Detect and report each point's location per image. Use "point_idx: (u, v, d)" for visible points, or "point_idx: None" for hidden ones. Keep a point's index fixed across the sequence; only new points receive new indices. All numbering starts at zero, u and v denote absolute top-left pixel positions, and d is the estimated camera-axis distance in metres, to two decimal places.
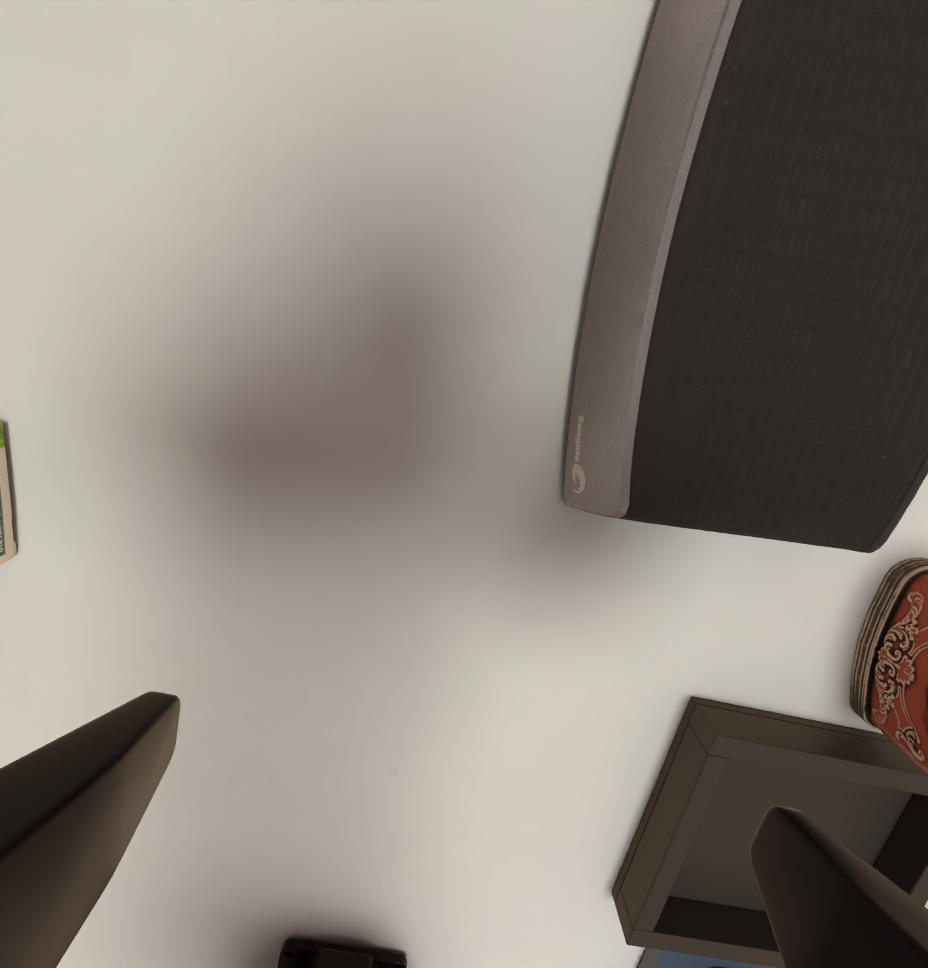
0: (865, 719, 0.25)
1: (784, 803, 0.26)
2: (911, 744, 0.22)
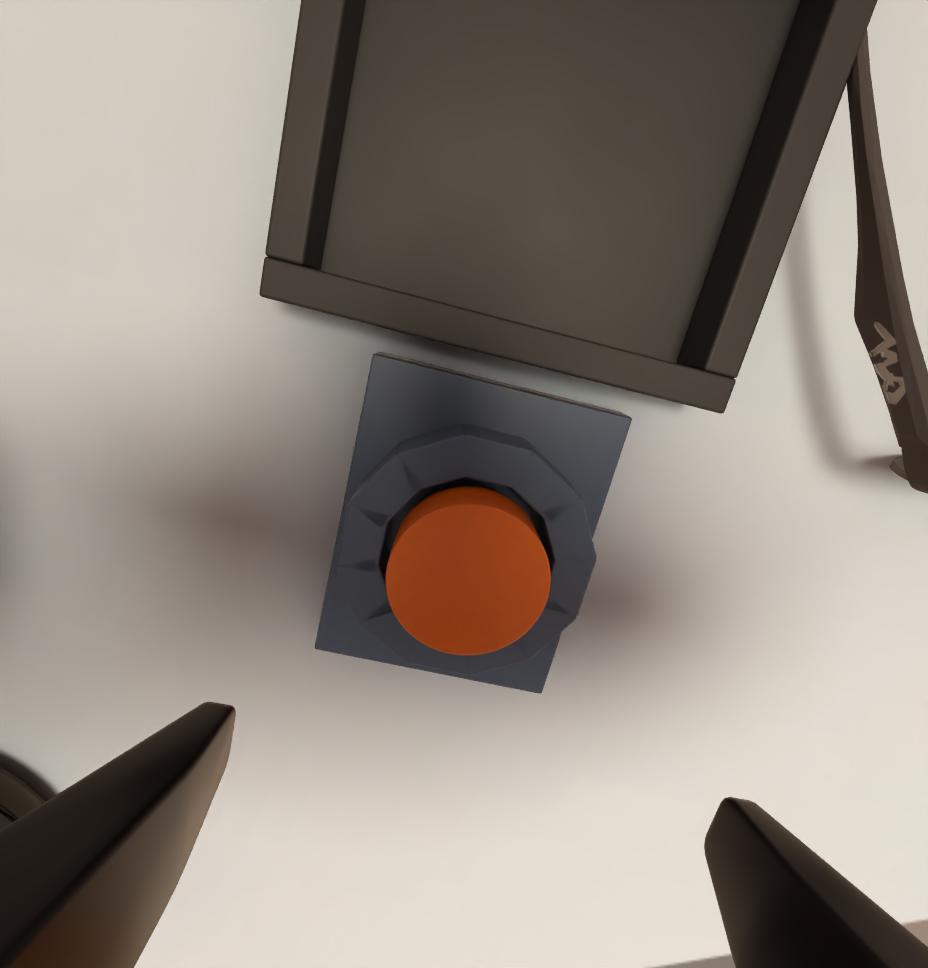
0: None
1: (553, 67, 0.15)
2: None
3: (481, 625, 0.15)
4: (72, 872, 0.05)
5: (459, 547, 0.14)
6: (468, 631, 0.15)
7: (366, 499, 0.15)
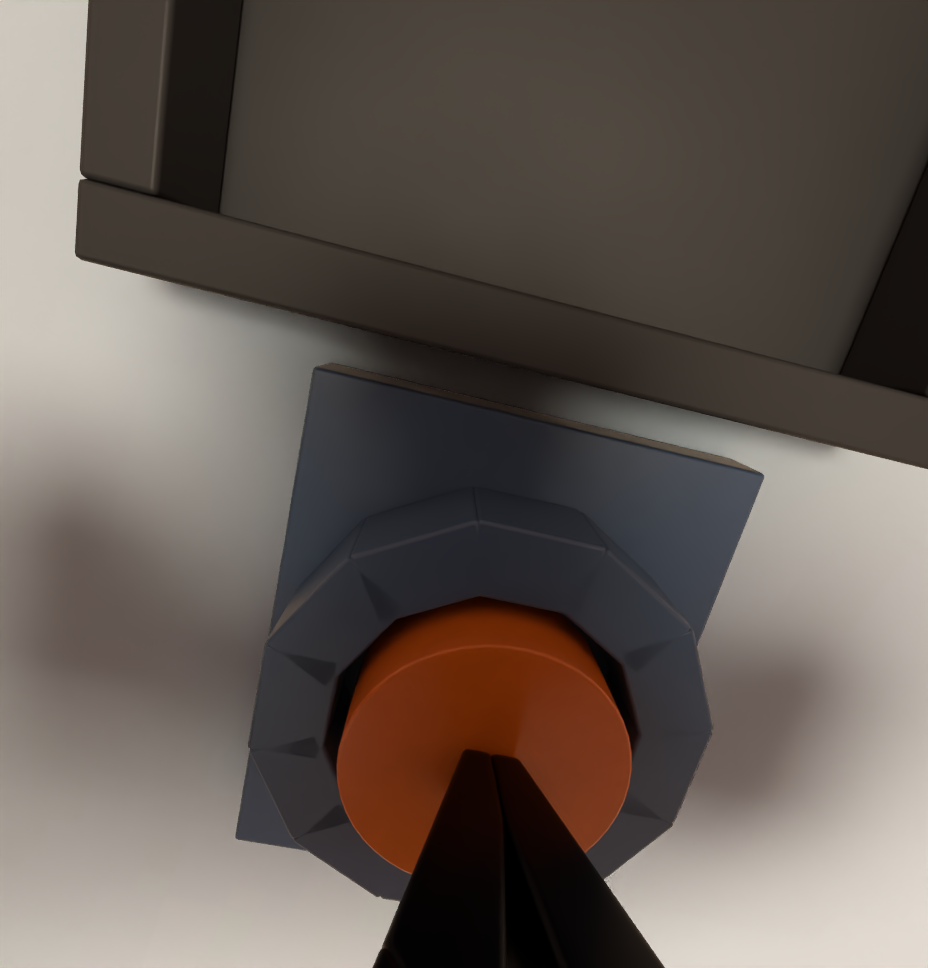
0: None
1: None
2: None
3: None
4: (491, 936, 0.05)
5: (468, 717, 0.08)
6: None
7: (297, 637, 0.08)
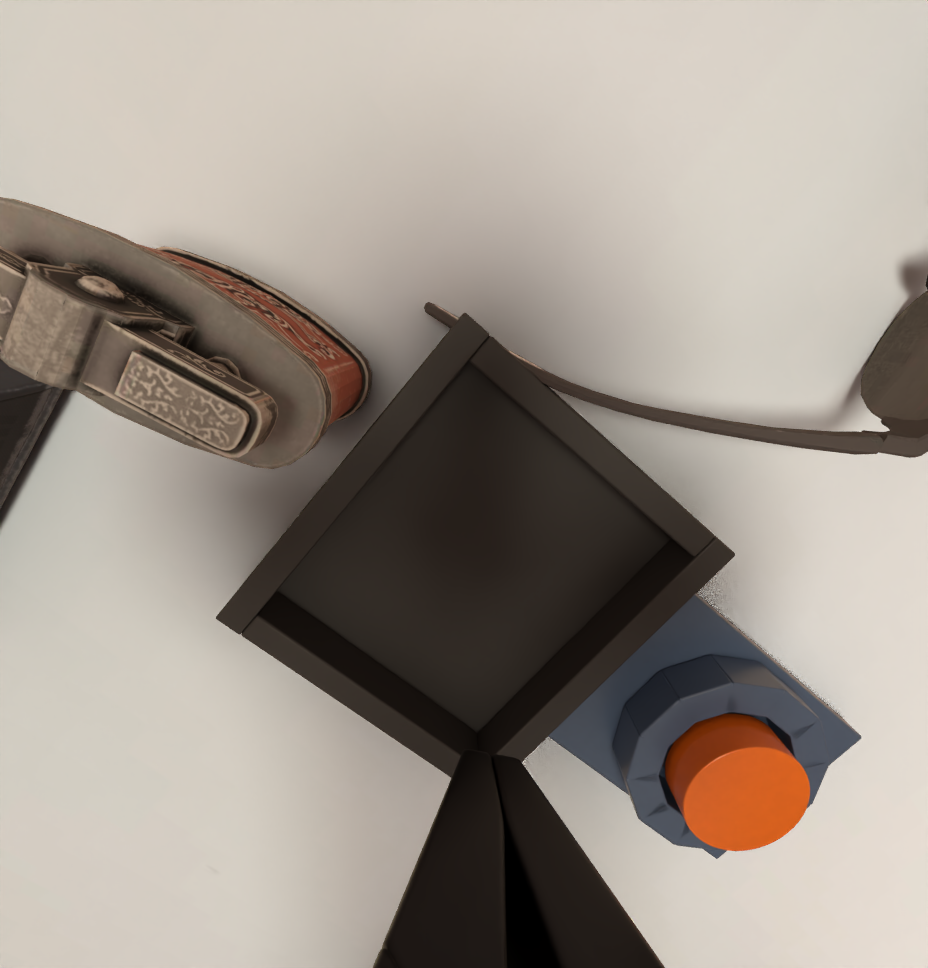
0: None
1: (432, 544, 0.20)
2: None
3: (782, 806, 0.19)
4: (491, 937, 0.05)
5: (718, 796, 0.19)
6: (781, 815, 0.19)
7: (643, 809, 0.21)
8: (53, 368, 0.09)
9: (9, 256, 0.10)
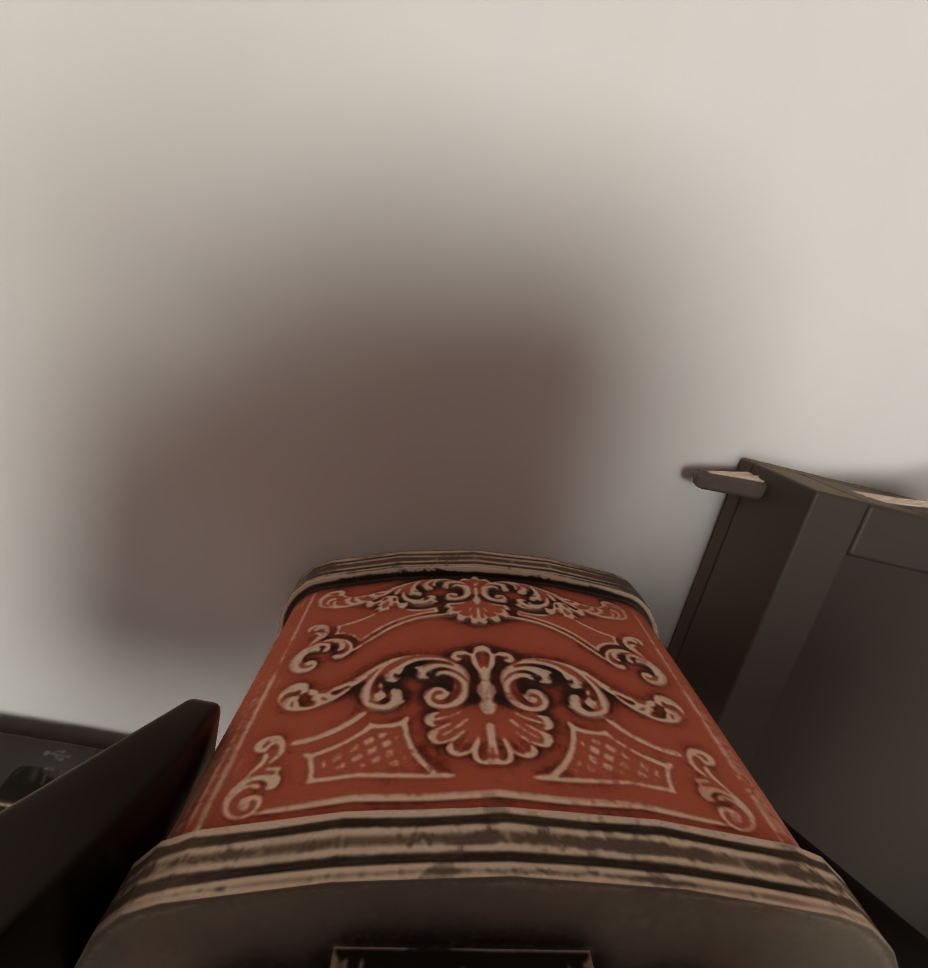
0: None
1: (815, 772, 0.13)
2: None
3: None
4: (46, 869, 0.05)
5: None
6: None
7: None
8: None
9: None
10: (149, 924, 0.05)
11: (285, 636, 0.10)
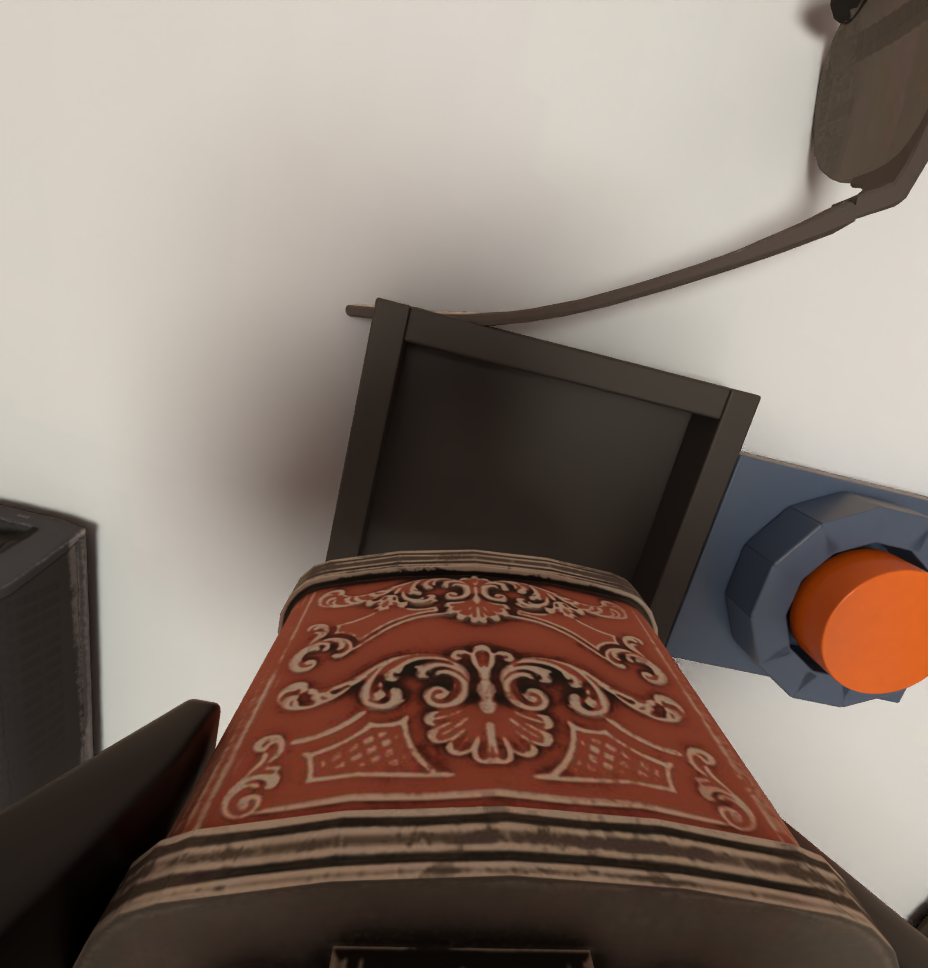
0: None
1: (464, 525, 0.20)
2: None
3: None
4: (45, 868, 0.05)
5: (858, 642, 0.17)
6: None
7: (791, 685, 0.19)
8: None
9: None
10: (148, 924, 0.05)
11: (284, 635, 0.10)
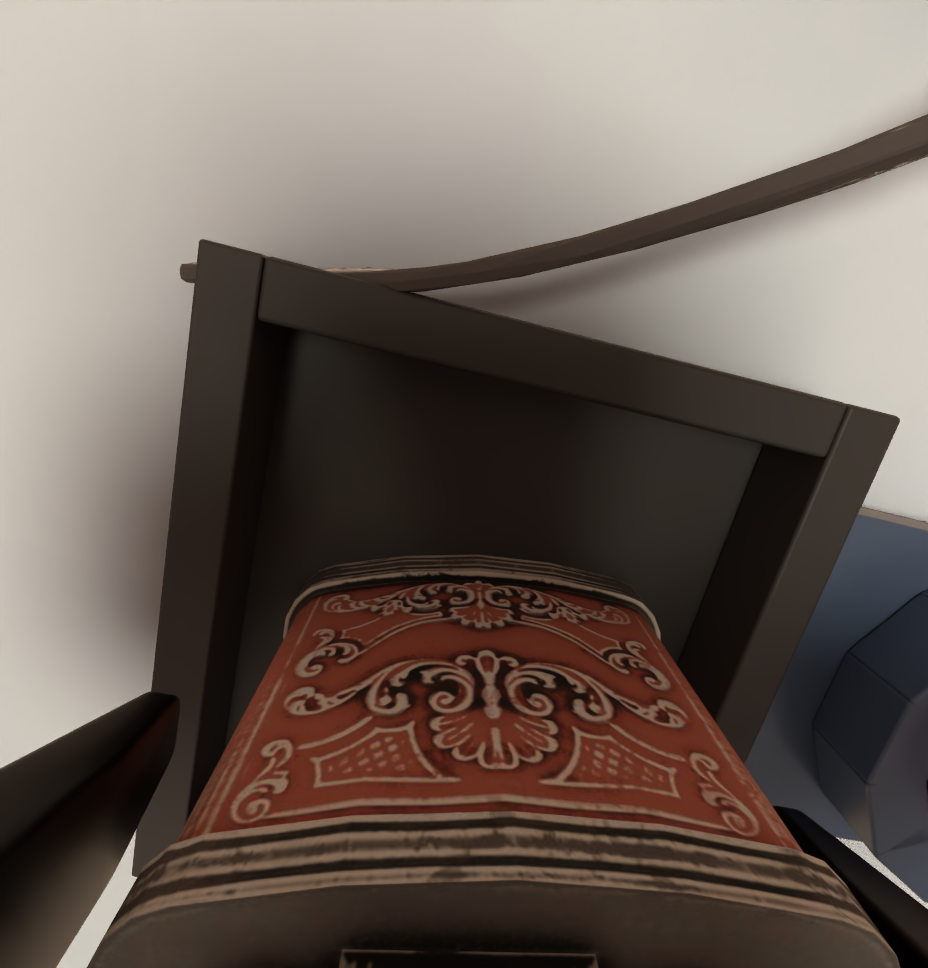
0: None
1: None
2: None
3: None
4: None
5: None
6: None
7: (927, 886, 0.12)
8: None
9: None
10: (160, 927, 0.05)
11: (290, 640, 0.10)
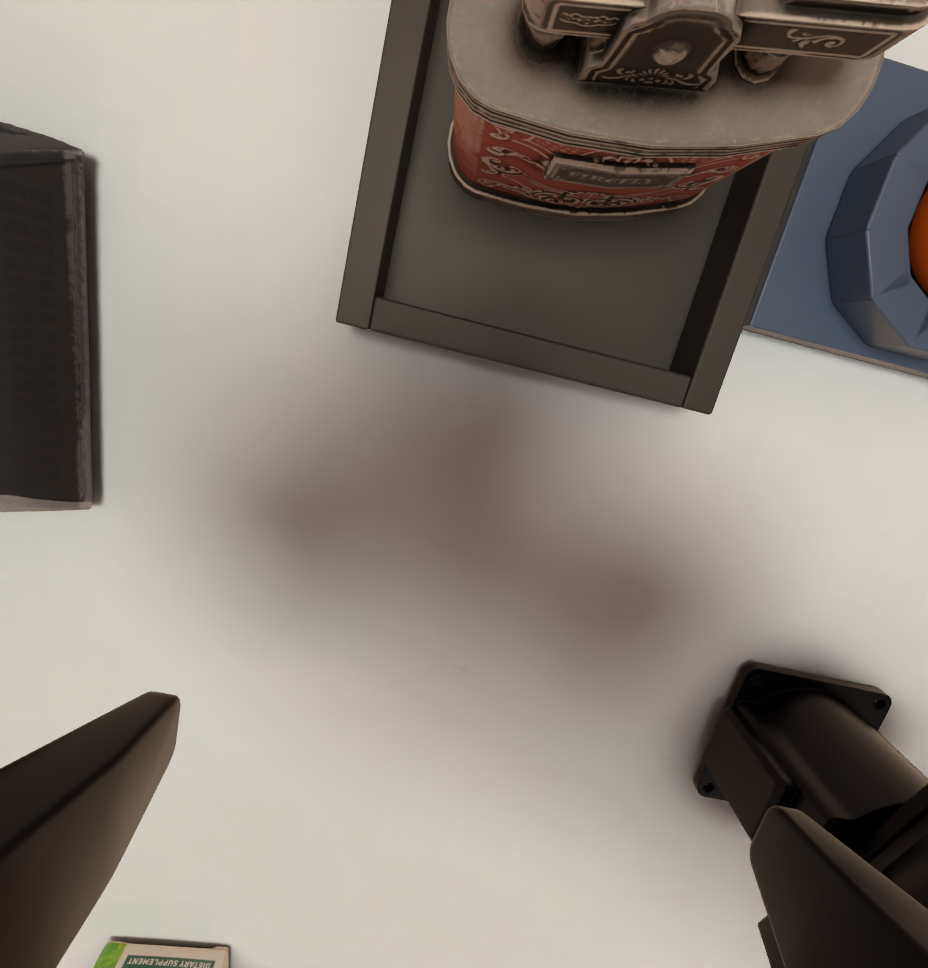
0: (691, 201, 0.17)
1: None
2: (702, 182, 0.15)
3: None
4: None
5: None
6: None
7: (909, 329, 0.16)
8: None
9: None
10: None
11: None
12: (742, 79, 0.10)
